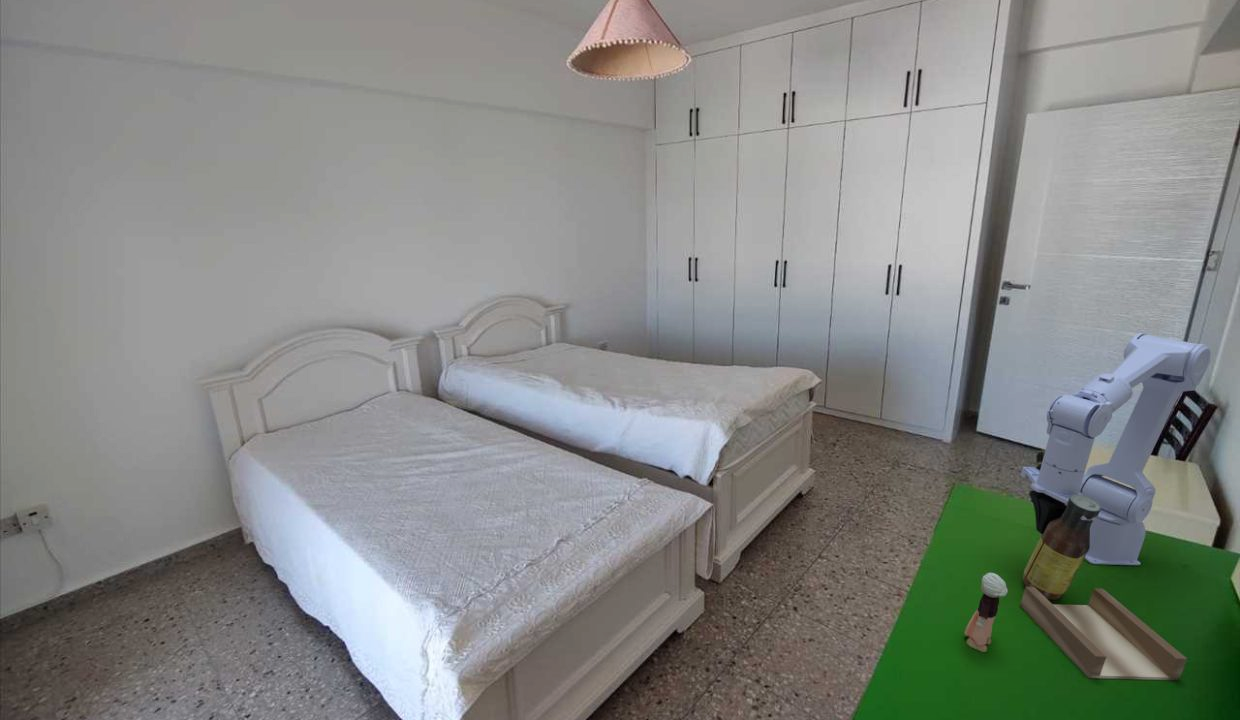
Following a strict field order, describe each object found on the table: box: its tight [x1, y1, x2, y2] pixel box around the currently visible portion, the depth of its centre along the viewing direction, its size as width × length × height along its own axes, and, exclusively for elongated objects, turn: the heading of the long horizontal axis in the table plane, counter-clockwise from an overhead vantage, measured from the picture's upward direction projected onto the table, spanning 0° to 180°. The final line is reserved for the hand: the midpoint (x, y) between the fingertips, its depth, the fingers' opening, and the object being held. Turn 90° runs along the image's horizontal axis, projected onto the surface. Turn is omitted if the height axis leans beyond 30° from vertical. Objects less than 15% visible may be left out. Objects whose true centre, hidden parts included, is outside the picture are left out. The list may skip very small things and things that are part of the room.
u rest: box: [1019, 586, 1188, 681], centre depth 85 cm, size 13×14×4 cm
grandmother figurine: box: [964, 572, 1009, 653], centre depth 83 cm, size 8×4×13 cm, turn 141°
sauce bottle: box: [1022, 495, 1101, 601], centre depth 91 cm, size 6×6×20 cm
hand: (1044, 532), depth 95 cm, fingers closed
